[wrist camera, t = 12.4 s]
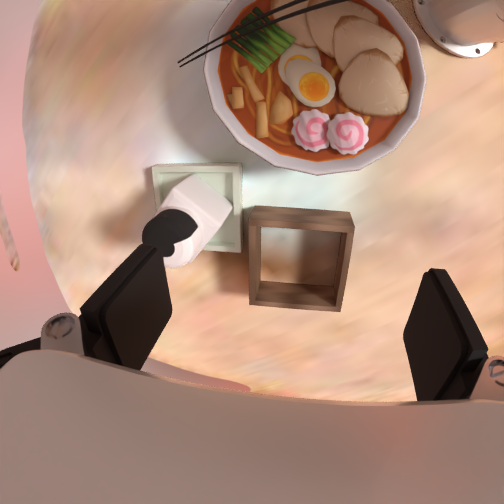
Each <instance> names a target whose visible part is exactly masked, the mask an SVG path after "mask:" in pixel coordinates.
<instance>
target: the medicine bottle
mask: <svg viewBox="0 0 504 504" xmlns="http://www.w3.org/2000/svg"><path fill="white" fill-rule="evenodd" d="M233 207H234V205H233V204H232V203H231V202H230V201H228V200H227V199H226V198H225V197H223V196H222V195H221V194H220V193H218V192H217V191H216V190H215V189H213V188H212V187H211V186H209V185H208V184H207V183H206V182H204V181H203V180H202V179H201V178H199V177H198V176H197V175H195V174H191V175H190V176H188V177H187V178H186V179H184V180H183V181H181V182H180V183H178V184H177V185H176V186H174V187H173V188H172V189H171V190H170V192H169V193H168V195H167V197H166V198H165V200H164V201H163V203H162V204H161V206H160V207H159V209H158V210H157V212H156V214H155V215H154V217H153V218H152V220H150V221H149V222H148V223H147V224H146V226H145V227H144V230H143V233H142V242H143V244H149V245H156V246H157V247H158V249H160V250H161V251H162V253H163V259H164V265H165V267H167V268H179V267H182V266H184V265H185V264H186V263H191V262H192V261H193V260H194V259H195V258H196V256H197V255H198V254H199V253H200V251H201V250H202V249H203V248H204V247H205V245H206V244H207V243H208V242H209V240H210V239H211V238H212V237H213V236H214V234H215V233H216V232H217V231H218V229H219V228H220V227H221V226H222V224H223V223H224V221H225V219H226V218H227V216H228V215H229V213H230V212H231V210H232V209H233Z"/></svg>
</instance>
